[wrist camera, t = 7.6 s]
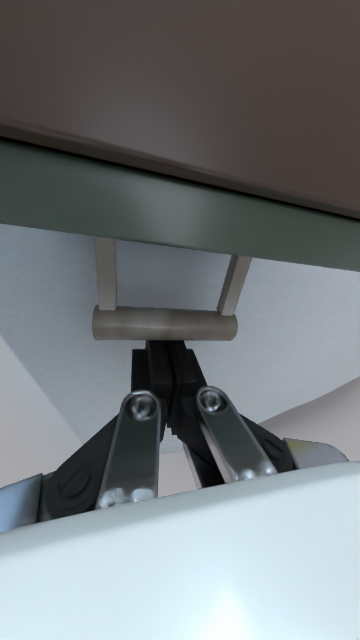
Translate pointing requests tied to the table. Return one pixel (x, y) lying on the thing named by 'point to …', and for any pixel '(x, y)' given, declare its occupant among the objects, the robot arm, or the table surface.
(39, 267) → the table surface
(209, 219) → the drawer
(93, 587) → the robot arm
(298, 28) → the cabinet
